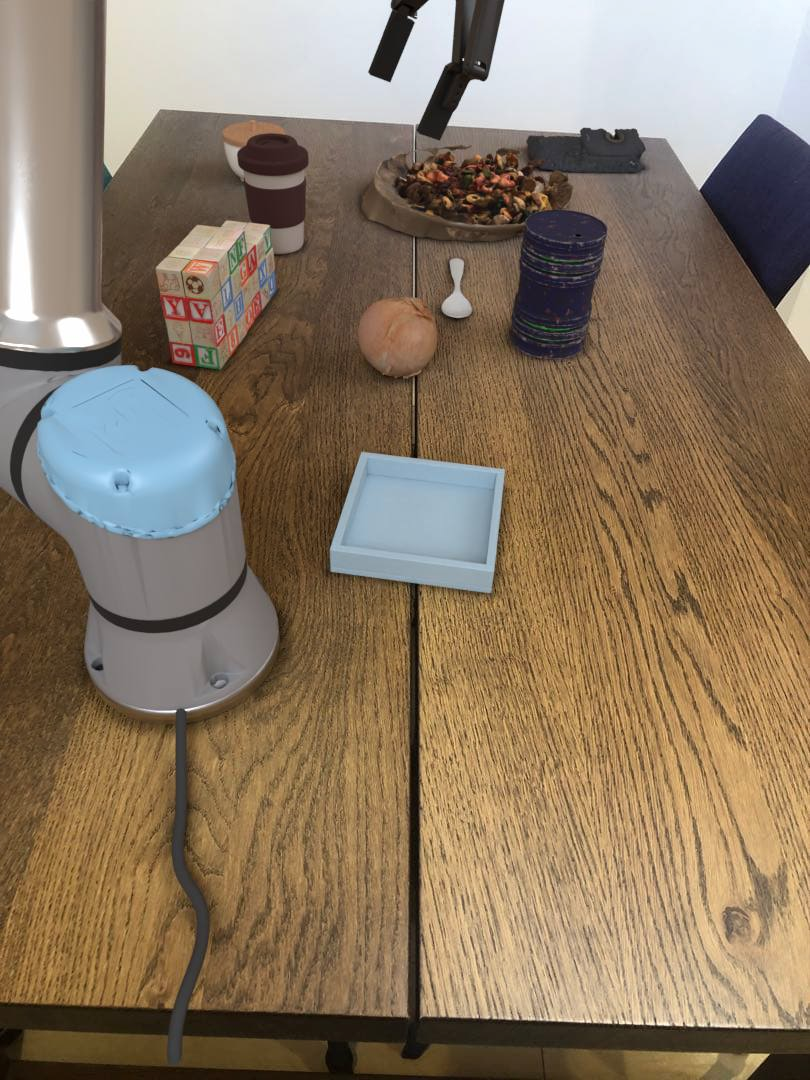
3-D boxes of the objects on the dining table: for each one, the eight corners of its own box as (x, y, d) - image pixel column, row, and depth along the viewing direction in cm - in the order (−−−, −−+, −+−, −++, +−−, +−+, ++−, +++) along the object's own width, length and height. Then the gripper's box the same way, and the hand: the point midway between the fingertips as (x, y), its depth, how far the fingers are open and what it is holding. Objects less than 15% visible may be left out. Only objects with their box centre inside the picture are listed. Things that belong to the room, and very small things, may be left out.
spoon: (440, 326, 107) (441, 314, 106) (442, 258, 123) (443, 247, 121) (471, 328, 107) (473, 316, 106) (470, 260, 122) (471, 249, 121)
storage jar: (496, 327, 108) (509, 213, 98) (561, 316, 111) (581, 205, 100) (530, 365, 101) (549, 247, 91) (599, 352, 104) (625, 237, 94)
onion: (421, 381, 103) (460, 312, 98) (402, 403, 95) (444, 328, 90) (357, 342, 103) (393, 270, 98) (332, 360, 95) (370, 283, 90)
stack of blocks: (234, 285, 114) (224, 195, 106) (277, 291, 113) (270, 201, 105) (172, 363, 99) (153, 266, 90) (221, 371, 98) (207, 273, 89)
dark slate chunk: (519, 144, 161) (522, 118, 158) (627, 145, 163) (633, 120, 160) (534, 172, 150) (538, 145, 147) (650, 173, 152) (657, 146, 149)
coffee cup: (320, 254, 122) (316, 148, 112) (255, 263, 119) (245, 155, 109) (301, 228, 129) (296, 126, 118) (239, 236, 126) (228, 132, 116)
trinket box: (216, 184, 141) (209, 126, 135) (243, 164, 148) (237, 107, 142) (273, 193, 139) (269, 134, 132) (297, 172, 146) (294, 115, 140)
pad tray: (490, 593, 73) (494, 571, 71) (330, 571, 74) (329, 549, 72) (501, 490, 83) (505, 468, 81) (361, 472, 85) (361, 451, 83)
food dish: (563, 181, 150) (572, 137, 145) (570, 262, 126) (581, 212, 121) (375, 161, 151) (376, 116, 146) (347, 237, 127) (347, 187, 122)
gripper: (596, -57, 71) (479, 171, 84) (471, -143, 85) (387, 66, 98) (534, -94, 67) (421, 153, 80) (413, -179, 80) (333, 45, 93)
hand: (402, 105), depth 89 cm, fingers open, 13 cm apart
